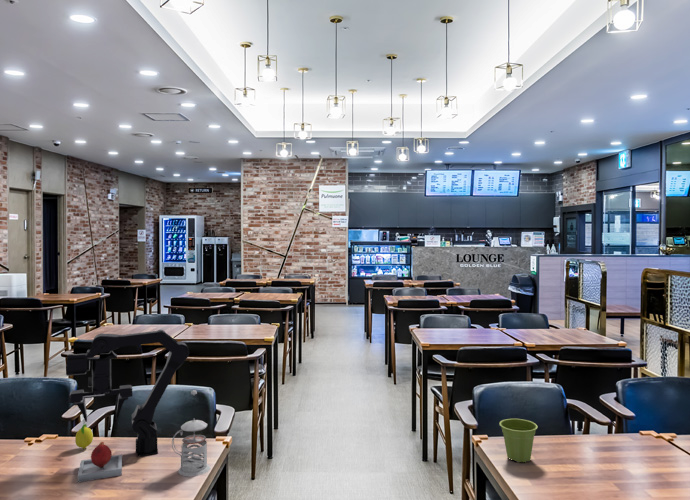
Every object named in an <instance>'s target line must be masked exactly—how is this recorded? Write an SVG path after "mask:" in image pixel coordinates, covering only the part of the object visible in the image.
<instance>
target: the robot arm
mask: <svg viewBox="0 0 690 500" xmlns="http://www.w3.org/2000/svg"><path fill="white" fill-rule="evenodd" d="M149 344H160V345H162V346H163V347H164V348H165V349H166V350H168V352H169V353H168V356H167V358H166V363H165V365H164V367H163V369H162V371H161V372H160V374H159V376H158V378H157V380H156V381H155V384H154V386H152V388H151V390H150V392H149V394H148V396H147V398H146V400H145V402H143V403H142V404H141V405H140V404H139V403H138V404H137V405H136V407H135V410H134V411H133V413H132V414H131V427H132V430H133V431H134V432H135V433H137V434H136V435H137V437H136V438H135V453H136V456H137V457H143V456H149V455H150V456H151V455H157V454H158V453H159V449H158V429H157V424H156V422H155V421H154V420H153V419H154V416H155V412H156V409H157V406H158V404H159V403H160V400H161V399H162V398H163V395H164V393H165V391H166V389H167V388H168V386H169V384H170V383H171V380H172V379H173V377H174V375H175V374H176V372H177V370H178V369H179V368H180V367H181V366H182V365H183V364H185V361H186V360H187V359H188V357H189V355H190V349H189V347H188V345H187V344H186V343H185V342H184V341H178V340H177V339H175V338H174V337H172V336H171V335H169V334H168V333H166V331H165V330H164V329H158V330H152V331H144V332H136V333H128V334H127V333H125V334H118V333H117V334H116V333H98V334H96V335H95V336H94V337H93V339H92V342H91V346H90V348H88V349H87V351H86V353H77V354H76V353H68V354H67V356H66V365H65V375H66V376H67V377H69V376H79V375H86V374H87V372H89V371H90V369H91V376H88V378H87V379H88V380H87V381H88V382H87V385H88V386H87V387H88V388H91V391H85V390H84V389H76V390H72V391H70V392H69V396H68V403H69V404H73V406H77V408H78V409H79V410H80V412H81V414H82V417H83V420H84V423H87V422H88V413H87V407H86V399H91V398H99V397H100V398H101V397H109V396H118V398H117V408H116V414H115V415H116V417H115V418H116V419H119V416H120V413H121V410H122V407H123V405H124V403H125V401H127V400H129V398H132V397H133V385H131V384H125V385H119V388H115V389H112V382H113V381H112V360H114V359H117V358H118V354H117V353H115V352H114V351H115V350H118V349H121V348H124V347H132V346H134V347H135V346H142V345H149ZM97 355H99V356H97Z"/></svg>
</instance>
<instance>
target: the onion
mask: <svg viewBox="0 0 690 500" xmlns="http://www.w3.org/2000/svg"><path fill="white" fill-rule="evenodd" d="M112 454H113V453H112V450H111V448H110V446H108V445H106V444H105V441H99V444H98V445H97V446H96V447H95V448H94V449H93V450H92V452H91V454H90V459H91V461H92V463H93V464H94V465H96V466H98V467H100V468H102V467H104V466H105V465H106V464H107V463H108V462H109V461H110V459H111V456H113V455H112Z"/></svg>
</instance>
